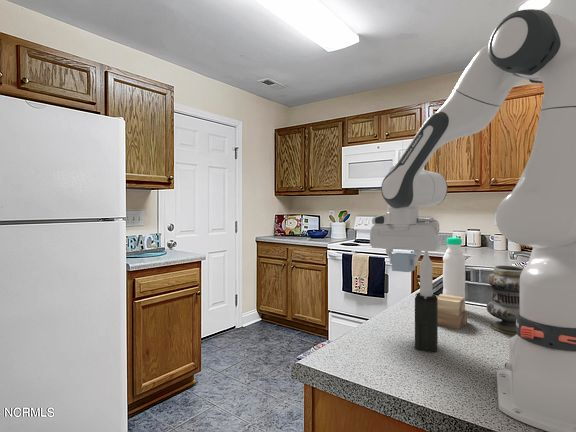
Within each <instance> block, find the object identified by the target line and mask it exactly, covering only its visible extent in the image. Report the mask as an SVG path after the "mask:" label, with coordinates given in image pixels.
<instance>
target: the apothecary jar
mask: <svg viewBox="0 0 576 432" xmlns="http://www.w3.org/2000/svg"><path fill="white" fill-rule="evenodd" d="M524 268H525V266H524V267H523V266H519V265H508V264H507V265H503V264H501V265H500V264H499V265H495V266H494V267H493V271H492V273H490V274H489V275H488V276H487V283H488V284H489V285H490V286H491V298H490V299H491V300H489V301H488V302H487V303H486V306H485V307H486V311H487V312H488V313H489V314H490V315H491V316H493V317H494V318H496V319H498V320H499V321H495V322H492V323H490V325H489V326H490V328H491V329H493V330H495V331H497V332H500V333H502V334H507V335H513V336H515V335H516V334H517V333H516V320H517V313H519V312H520V275H521V272H522V270H523V269H524Z"/></svg>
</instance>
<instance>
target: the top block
mask: <svg viewBox="0 0 576 432" xmlns="http://www.w3.org/2000/svg"><path fill="white" fill-rule="evenodd" d="M436 297H437V298H438V312H439V313H445V314H450V315H456V316H459V315H460V314H461V313H462V312H463V311H464V310H466V297H465V298H464V297H458V296H451V295H444V294H443V293H440V294H439V295H436Z"/></svg>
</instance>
